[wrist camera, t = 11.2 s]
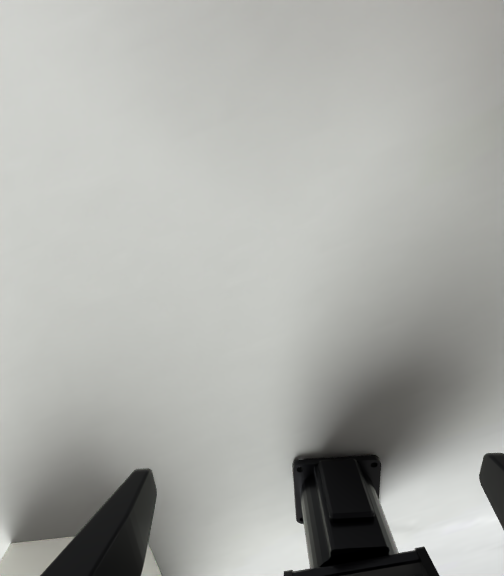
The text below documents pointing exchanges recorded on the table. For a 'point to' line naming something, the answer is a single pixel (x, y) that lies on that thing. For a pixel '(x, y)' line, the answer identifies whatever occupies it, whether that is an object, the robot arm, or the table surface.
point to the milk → (50, 558)
